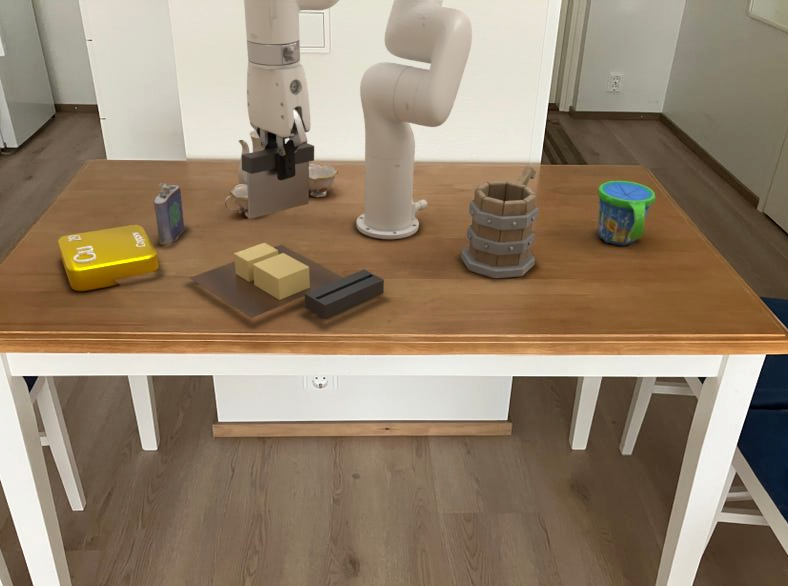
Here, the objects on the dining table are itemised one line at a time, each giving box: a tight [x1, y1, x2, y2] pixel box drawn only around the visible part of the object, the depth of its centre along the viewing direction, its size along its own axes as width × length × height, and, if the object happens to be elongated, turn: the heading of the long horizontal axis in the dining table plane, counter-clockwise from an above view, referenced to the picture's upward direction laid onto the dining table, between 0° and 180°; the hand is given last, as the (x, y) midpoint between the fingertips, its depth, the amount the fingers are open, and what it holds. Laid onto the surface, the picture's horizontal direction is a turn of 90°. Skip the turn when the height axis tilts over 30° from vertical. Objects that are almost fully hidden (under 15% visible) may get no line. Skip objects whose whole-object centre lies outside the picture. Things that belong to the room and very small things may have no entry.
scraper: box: [240, 142, 315, 220], centre depth 123 cm, size 12×2×10 cm, turn 135°
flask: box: [153, 183, 186, 247], centre depth 147 cm, size 9×3×11 cm, turn 172°
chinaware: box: [224, 129, 339, 218], centre depth 163 cm, size 28×17×17 cm, turn 139°
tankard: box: [460, 165, 539, 279], centre depth 143 cm, size 20×13×15 cm, turn 147°
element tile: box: [57, 224, 160, 292], centre depth 138 cm, size 15×15×5 cm
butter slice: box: [233, 242, 278, 282], centre depth 135 cm, size 6×4×4 cm, turn 134°
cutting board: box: [189, 244, 344, 319], centre depth 135 cm, size 20×18×2 cm
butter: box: [253, 253, 310, 300], centre depth 131 cm, size 6×7×4 cm
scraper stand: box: [304, 268, 385, 320], centre depth 128 cm, size 13×5×4 cm, turn 134°
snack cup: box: [597, 180, 656, 246], centre depth 152 cm, size 16×11×10 cm
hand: (280, 174), depth 122 cm, fingers closed on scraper, 2 cm apart
